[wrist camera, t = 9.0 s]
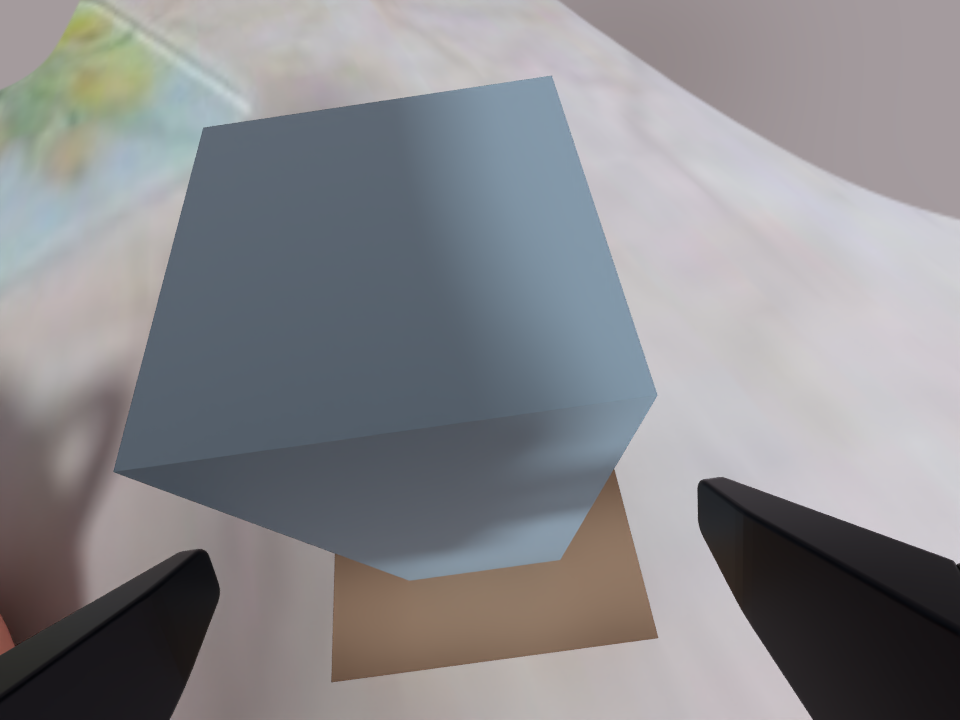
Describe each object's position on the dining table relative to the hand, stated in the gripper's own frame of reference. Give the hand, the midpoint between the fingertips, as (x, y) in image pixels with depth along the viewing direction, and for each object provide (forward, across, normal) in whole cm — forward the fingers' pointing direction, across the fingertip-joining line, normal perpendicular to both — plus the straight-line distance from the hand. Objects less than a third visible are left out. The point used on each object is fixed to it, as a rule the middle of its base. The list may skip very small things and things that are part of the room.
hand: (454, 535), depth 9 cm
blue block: (+8, 0, +4) cm, 8 cm away
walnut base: (+10, 0, +6) cm, 11 cm away
